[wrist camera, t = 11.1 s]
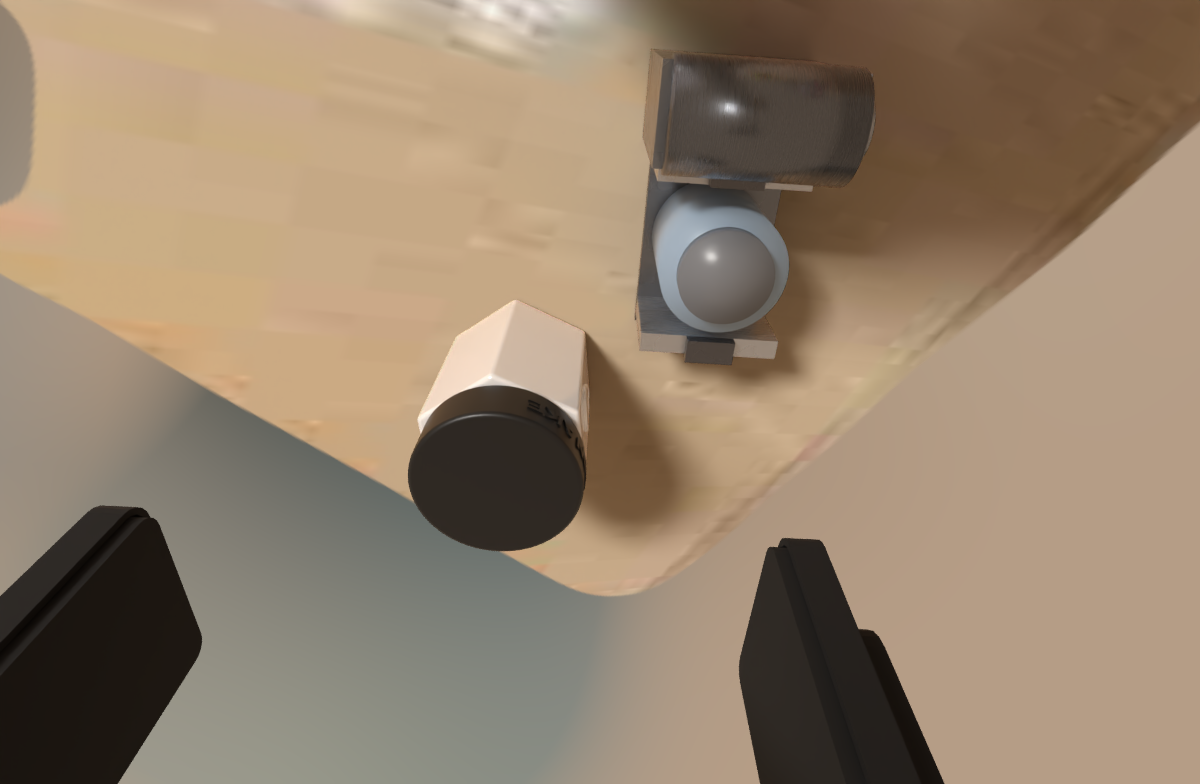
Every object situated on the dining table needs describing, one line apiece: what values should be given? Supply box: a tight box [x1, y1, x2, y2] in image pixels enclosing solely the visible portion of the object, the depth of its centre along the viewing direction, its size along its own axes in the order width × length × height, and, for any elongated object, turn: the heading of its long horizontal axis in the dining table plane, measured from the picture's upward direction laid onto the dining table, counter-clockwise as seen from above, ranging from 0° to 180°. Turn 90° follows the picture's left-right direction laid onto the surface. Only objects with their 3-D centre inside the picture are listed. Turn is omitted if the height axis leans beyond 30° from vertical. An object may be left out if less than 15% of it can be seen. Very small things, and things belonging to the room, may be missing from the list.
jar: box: [408, 300, 590, 551], centre depth 35 cm, size 9×8×12 cm
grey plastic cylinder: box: [652, 183, 789, 332], centre depth 32 cm, size 6×6×7 cm
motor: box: [635, 49, 876, 365], centre depth 30 cm, size 14×8×10 cm, turn 176°
